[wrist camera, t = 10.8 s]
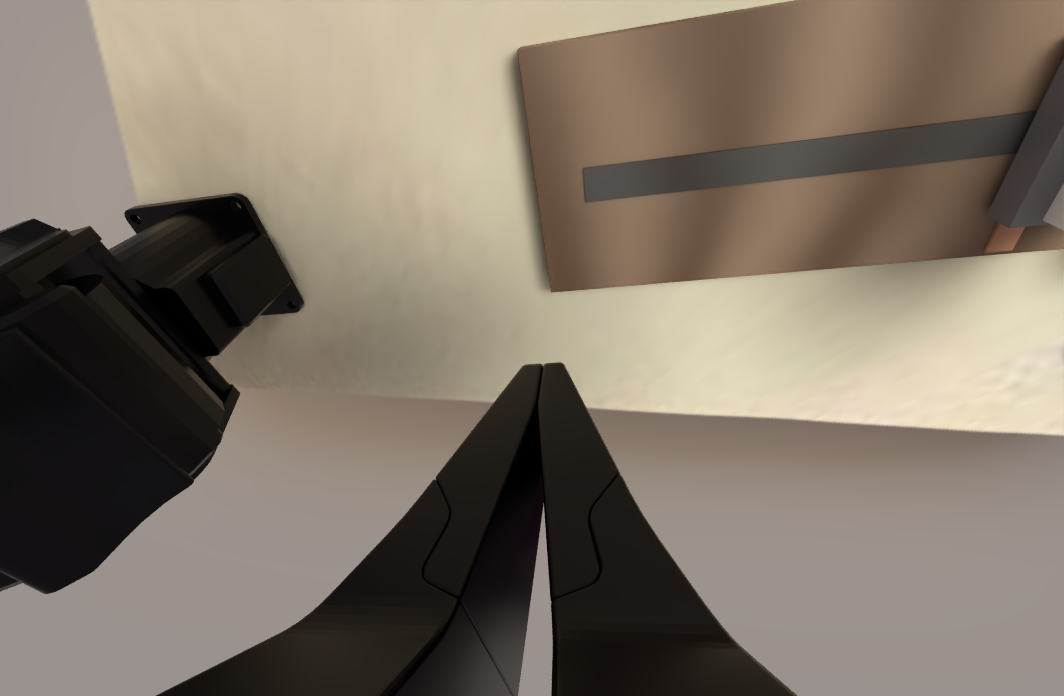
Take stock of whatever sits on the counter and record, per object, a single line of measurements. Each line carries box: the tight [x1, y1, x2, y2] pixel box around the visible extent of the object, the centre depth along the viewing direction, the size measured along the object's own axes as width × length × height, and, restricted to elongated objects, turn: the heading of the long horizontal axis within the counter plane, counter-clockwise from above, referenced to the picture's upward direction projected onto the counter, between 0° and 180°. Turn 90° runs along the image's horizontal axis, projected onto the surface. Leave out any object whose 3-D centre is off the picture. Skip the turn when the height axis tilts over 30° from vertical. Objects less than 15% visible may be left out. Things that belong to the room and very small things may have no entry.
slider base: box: [517, 0, 1064, 292], centre depth 16 cm, size 26×10×4 cm, turn 98°
